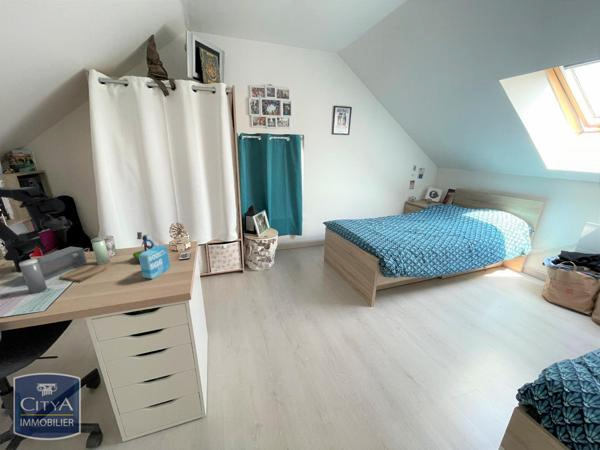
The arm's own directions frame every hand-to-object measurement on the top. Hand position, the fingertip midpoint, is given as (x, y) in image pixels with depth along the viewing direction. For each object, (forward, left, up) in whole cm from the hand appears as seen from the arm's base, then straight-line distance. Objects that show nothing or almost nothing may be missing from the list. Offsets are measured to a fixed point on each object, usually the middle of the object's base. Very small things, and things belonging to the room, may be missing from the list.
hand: (55, 246), depth 117 cm
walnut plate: (+17, -2, -11) cm, 20 cm away
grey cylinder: (+13, -17, -11) cm, 24 cm away
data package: (+49, +7, -11) cm, 50 cm away
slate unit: (+3, -3, -11) cm, 12 cm away
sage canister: (+15, +9, -11) cm, 20 cm away
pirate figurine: (+33, +19, -11) cm, 39 cm away
